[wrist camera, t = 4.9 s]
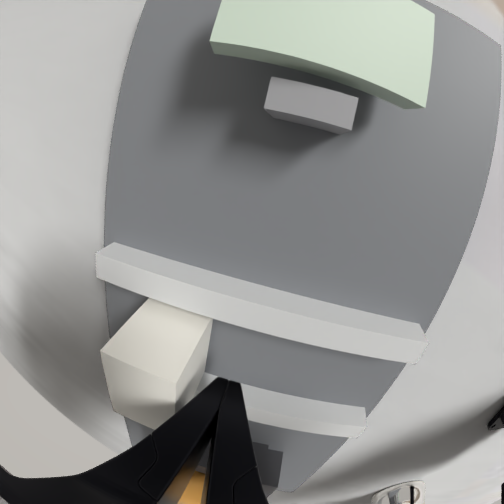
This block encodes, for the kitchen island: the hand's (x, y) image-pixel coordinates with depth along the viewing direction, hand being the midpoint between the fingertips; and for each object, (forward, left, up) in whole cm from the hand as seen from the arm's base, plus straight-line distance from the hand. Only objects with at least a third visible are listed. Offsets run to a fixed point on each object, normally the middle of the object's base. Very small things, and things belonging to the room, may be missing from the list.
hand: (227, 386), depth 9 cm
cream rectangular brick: (+2, 0, -2) cm, 3 cm away
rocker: (0, -11, -1) cm, 11 cm away
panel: (0, 0, -4) cm, 4 cm away
